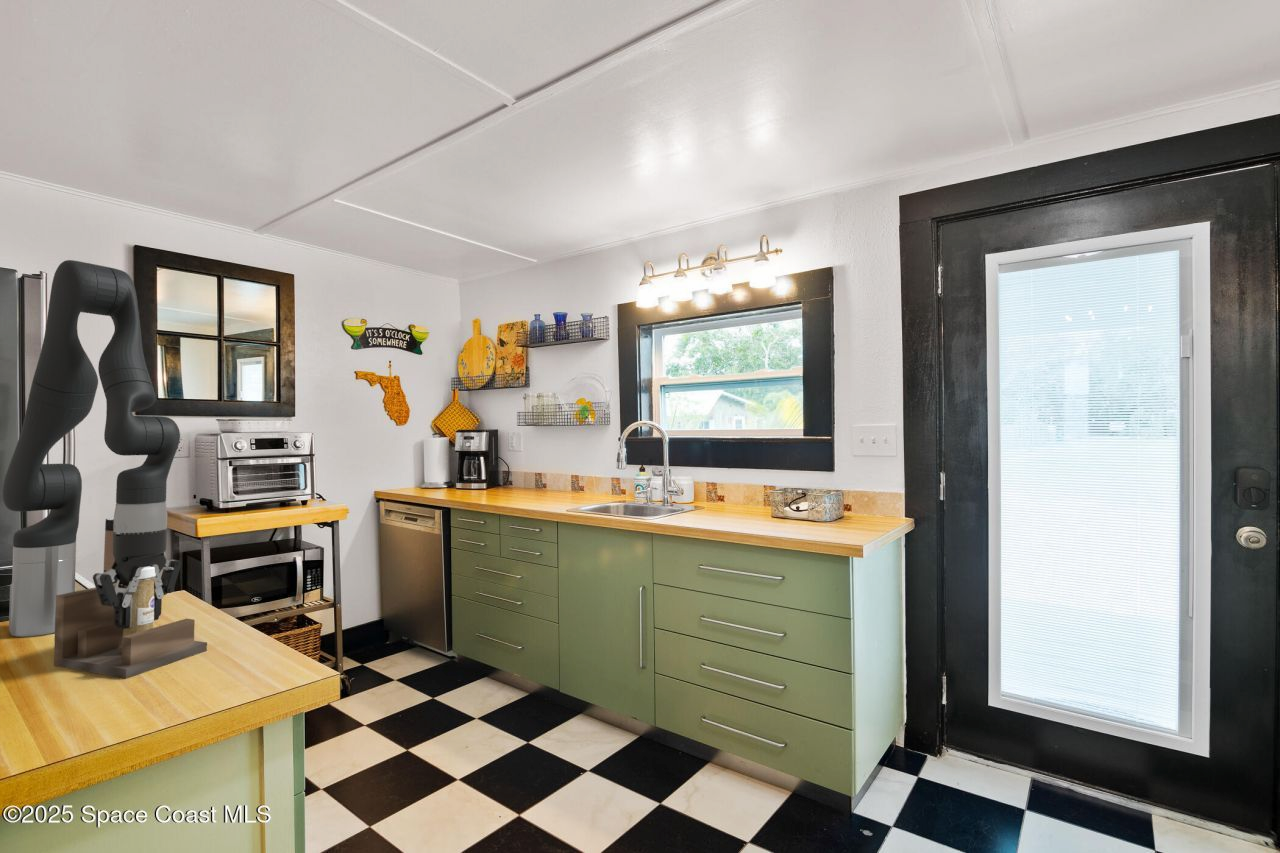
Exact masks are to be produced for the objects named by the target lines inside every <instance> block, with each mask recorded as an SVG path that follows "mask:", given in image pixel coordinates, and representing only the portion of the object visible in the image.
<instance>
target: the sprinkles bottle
mask: <svg viewBox="0 0 1280 853" xmlns="http://www.w3.org/2000/svg"><path fill="white" fill-rule="evenodd" d="M154 576H156V574H155V568H154V567H150V566H149V567H143V569H142V570H141V574H140V577H138V578H137V579H138V580H139V581H138V582H139V583H138V586H137V589H136V592H135V593H134V594H133V595H132V598H131V601H130V604H129V606H128V607H130V627H129V628H126V629H123V637H124V636H127V635H131V634H134V633H138V632H141V631H145V630H148V629H152V628H154V622H155V620H154ZM127 587H128V586H125V585H124V588H127Z"/></svg>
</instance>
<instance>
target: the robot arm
mask: <svg viewBox="0 0 1280 853" xmlns="http://www.w3.org/2000/svg"><path fill="white" fill-rule="evenodd" d="M50 288H51V289H50V293H49V302H48V309H47V317H46V324H45V331H44V337H43V341H42V344H41V349H40V353H39V358H38V360H37V364H36V367H35V371H34V374H33V377H32V381H31V382H32V383H31V385H30V386H31V387H30V390H29V393H28V394H29V395H28V399H27V404H26V410H25V413H24V414H25V415H24V419H23V424H22V428H21V432H20V434H19V438H18V441H17V443H16V446H15V449H14V451H13V454H12V456H11V459H10V462H9V465H8V467H7V470H6V474H5V477H4V480H3V486H2V502H3V505H4V506H5V507H6V508H7V509H8V510H10V511H13V512H37V511H38V512H39V511H49V513H48V514H47V516H46V517H44V518H43V519H42V520H40V521H38V522H35V523H34V524H32V525H29V526H25V527H23V528H21V529H17V531H16V532H14V534H13V536H12V538H13V539H12V574H11V576H12V580H11V583H10V584H9V585H10V586H9V616H8V632H9V633H10V636H12V637H20V638H22V637H34V636H35V637H36V636H43V635H44V636H45V635H51V634H53V633H54V634H55V610H56V595H61V594H66V593H70V592H75V591H76V560H77V558H76V557H77V556H76V555H77V554H76V552H77V533H78V528H79V524H80V509H81V508H80V507H81V499H82V489H83V485H82V484H83V481H82V475H81V472H80V470H79V468H78V467H77V466H76V465H75V464H71V463H43V462H44V461H45V458H46V456H47V455H48V453H49V452H50V450H51V449H52V448H53V447H54V446H55V445H56V444H57V443H58V442H59V441H60V440H61V439H62V438H64V437H65V436H66V435H68V434H69V432H71V431H73V430H74V429H75V428H76V427H77V426H78V425H80V424H81V422H83V421H84V419H86V417H87V416H89V414H90V412H91V410H92V408H93V405H94V401H95V397H96V394H97V389H98V386H99V380H100V383H101V386H102V389H103V393H104V396H105V400H106V410H105V412H106V415H105V416H106V417H105V418H106V419H105V425H104V437H103V439H104V442H105V445H106V446H107V448H108V449H109V450H110V451H111V452H113V454H116V455H118V456H124V457H125V456H126V457H127V456H147V457H146V459H145V461H143V463H142V464H141V465H140V466H137V467H133V468H129V469H126V470H121V472H119V473H118V475H117V476H116V477H117V478H116V487H115V488H116V493H115V509H114V514H113V519H114V525H113V556H114V563H113V565H112V567H111V569H110V570H108V571H106V572H104V571H103V572H102V573H99V572H97V573H96V572H95V573H94V574H93V575H92V581H93V583H94V586H95V587H96V590H97V593H98V596H99V599H100V602H101V604H102V605H105V606H112V607H114V624H115V626H117V628H121V629H126V628H129V627H130V607H128V606H129V604H130V601H131V598H132V595H133V594H134V593H135V592H136V589H137V586H138V583H139V582H138V581H139V580H138V579H137V578H138V577H140V574H141V570H142V569H143V567H149V566H150V567H154V568H155V574H156V576H154V621H158V620H159V619H160V616H161V614H162V599H163V598H164V596H166V595H167V594H171V593H173V592H174V590H175V586H176V583H177V579H178V576H179V573H180V570H181V566H182V561H181V560H180V559H179V560H178V559H170V558H169V559H167V558H166V556H165V552H166V550H167V542H168V541H167V539H168V510H167V509H168V508H167V502H166V501H167V481H168V476H169V473H170V470H171V467H172V464H173V461H174V459H175V456H176V453H177V451H178V448H179V444H180V439H181V432H180V429H179V426H178V424H177V423H176V422H175V421H174V420H173V418H170V417H167V416H159V415H156V416H155V415H151V416H149V415H134V414H133V413H135V412H141V411H143V410H144V411H145V410H147V409H149V408H151V407H152V406H153V405H154V404H155V403H156V400H157V399H156V392H155V389H154V386H153V382H152V379H151V376H150V373H149V370H148V367H147V363H146V360H145V354H144V349H143V340H142V339H143V338H142V330H141V320H140V312H139V305H138V304H139V303H138V302H139V301H138V296H137V291H136V287H135V284H134V282H133V279H132V278H131V276H130V274H128V273H127V272H125V271H124V270H121V269H118V268H114V267H110V266H104V265H99V264H94V263H90V262H84V261H79V260H73V259H71V260H70V259H68V260H64V261H62V262H61V263H59V265H58V267H57V268H56V270H55V272H54V276H53V278H52V283H51V287H50ZM81 313H83V314H84V313H85V314H93V315H99V316H107V317H108V316H109V317H110V318H111V321H112V322H113V325H114V332H113V333H112V337H111V339H110V341H109V342H108V343H107V346H106V347H105V348H104V350H103V352H102V353H101V355H100V358H99V359H98V360H99V362H98V366H97V367H98V373H97V371H96V369H95V366H94V365H93V363H92V361H91V359H90V357H89V356H88V354H87V352H86V351H85V349H84V347H83V346H82V342H81V341H80V338H79V334H78V321H79V317H80V314H81ZM97 374H98V375H97ZM98 376H99V378H98ZM161 572H162V573H161ZM160 574H161V575H160ZM114 576H116V578H117V579H118V581H117V584H116V587H115V588H114V585H113V582H114V581H115V580H114ZM124 585H125V586H128V587H127V588H124ZM95 587H94V588H95Z"/></svg>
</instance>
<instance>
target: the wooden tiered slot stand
mask: <svg viewBox="0 0 1280 853" xmlns="http://www.w3.org/2000/svg"><path fill="white" fill-rule="evenodd" d="M116 584H117V583H114V584H113V585H114V588H115V587H116ZM53 648H54V649H53V650H54V651H53V652H54V653H53V654H54V655H53V666H54V667H61V668H66V669H70V670H76V671H83V672H88V673H93V674H98V675H105V676H110V677H116V678H121V679H129V678H131V677H135V676H137V675H138V676H139V675H140V674H143V673H145V672H149V671H152V670H154V669H157V668H162V667H163V666H166V665H169V664H172V663H175V662H178V661H181V660H184V659H186V658H190V657H192V656H195V655H198V654H200V653H204V652H206V651H207V650H208V649H207V648H208V642H205V641H199V640H195V619H191V618H184V619H179V620H176V621H173V622H169V623H166V624H163V625H159V626H155V627H153V628H152V629H148V630H145V631H141V632H138V633H134V634H131V635H127V636H124V637H123V629H121V628H117V626H115V624H114V607H112V606H105V605H102V604H101V602H100V599H99V596H98V593H97V590H96V587H90V588H86V589H82V590H81V589H80V590H75V592H70V593H66V594H61V595H56V610H55V633H54V646H53Z"/></svg>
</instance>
